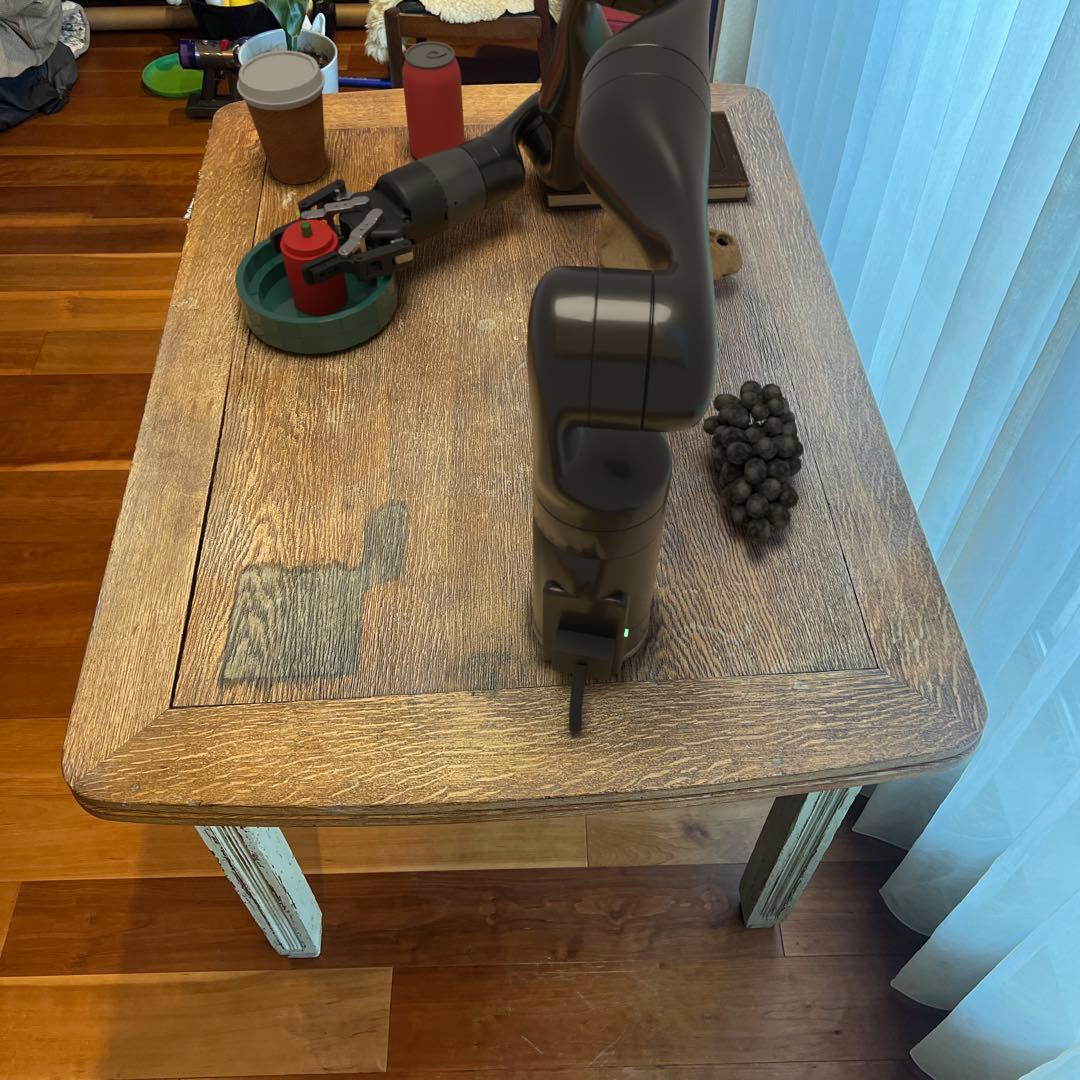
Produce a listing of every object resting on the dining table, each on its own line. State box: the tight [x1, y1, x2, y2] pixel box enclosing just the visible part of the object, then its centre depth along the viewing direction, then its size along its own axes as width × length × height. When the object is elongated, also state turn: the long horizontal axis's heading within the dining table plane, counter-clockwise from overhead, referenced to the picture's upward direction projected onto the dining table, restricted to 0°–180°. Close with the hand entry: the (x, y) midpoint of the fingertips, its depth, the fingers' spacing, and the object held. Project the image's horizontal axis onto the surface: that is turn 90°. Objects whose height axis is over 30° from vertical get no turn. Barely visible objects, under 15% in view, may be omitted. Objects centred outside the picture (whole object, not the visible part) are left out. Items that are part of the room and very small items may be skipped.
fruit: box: [702, 380, 805, 545], centre depth 87 cm, size 9×8×15 cm
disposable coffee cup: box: [236, 50, 327, 185], centre depth 116 cm, size 10×10×12 cm
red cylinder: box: [280, 220, 348, 316], centre depth 102 cm, size 6×6×9 cm
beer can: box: [401, 40, 466, 160], centre depth 118 cm, size 7×7×12 cm
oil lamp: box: [595, 212, 744, 282], centre depth 105 cm, size 11×15×8 cm
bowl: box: [234, 223, 399, 355], centre depth 104 cm, size 16×16×4 cm
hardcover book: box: [542, 110, 751, 212], centre depth 120 cm, size 16×23×2 cm
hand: (288, 259), depth 99 cm, fingers closed on red cylinder, 5 cm apart
